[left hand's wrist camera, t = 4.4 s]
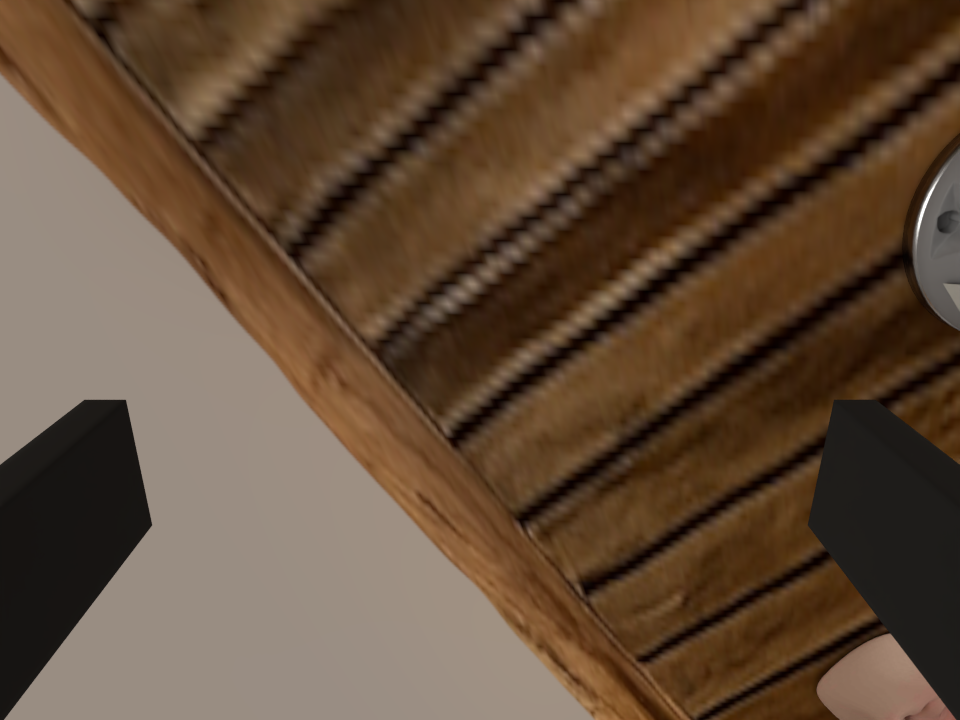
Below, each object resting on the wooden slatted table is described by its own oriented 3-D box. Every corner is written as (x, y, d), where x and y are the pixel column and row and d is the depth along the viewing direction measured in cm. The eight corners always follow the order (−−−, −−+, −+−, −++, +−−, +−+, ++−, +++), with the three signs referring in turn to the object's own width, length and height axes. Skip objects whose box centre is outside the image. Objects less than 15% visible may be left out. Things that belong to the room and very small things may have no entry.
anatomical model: (818, 751, 54) (900, 646, 50) (796, 709, 57) (871, 608, 54) (959, 792, 56) (1049, 694, 52) (929, 749, 59) (1011, 654, 55)
